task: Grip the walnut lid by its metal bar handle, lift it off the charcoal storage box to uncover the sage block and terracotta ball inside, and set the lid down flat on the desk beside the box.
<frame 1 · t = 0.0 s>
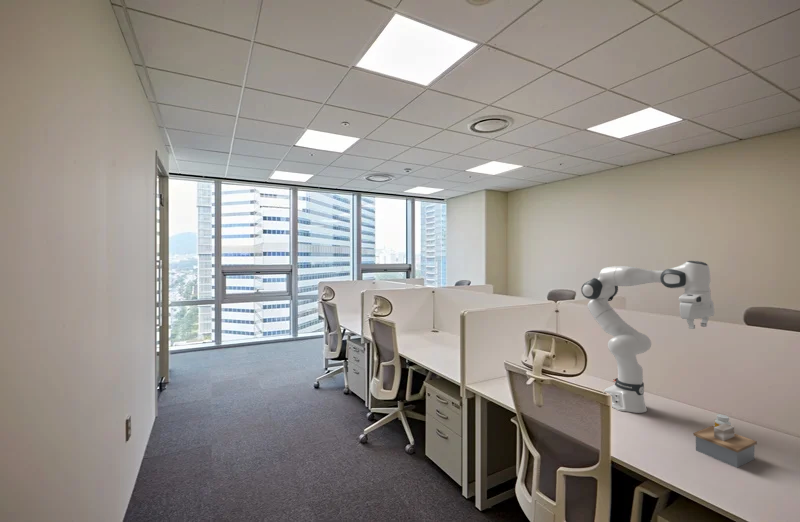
hand: (697, 327, 155), 48 cm above the table, tool pointing down, fingers open, 8 cm apart
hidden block: (729, 459, 134), point 1 cm above the table, touching storage box
lid: (724, 439, 138), point 7 cm above the table, touching storage box
storage box: (724, 457, 138), on the table
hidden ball: (720, 449, 141), point 1 cm above the table, touching storage box
supplement bottle: (723, 438, 152), on the table
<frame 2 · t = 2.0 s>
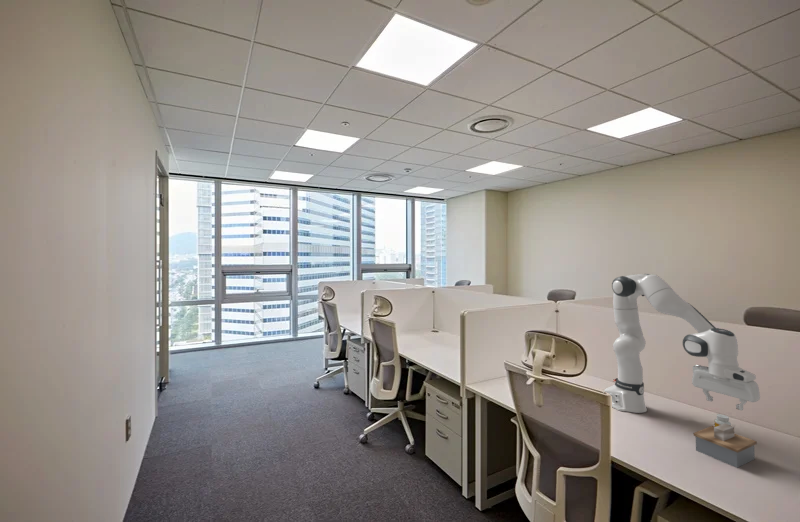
hand: (724, 405, 137), 21 cm above the table, tool pointing down, fingers open, 8 cm apart
nothing on the table moved.
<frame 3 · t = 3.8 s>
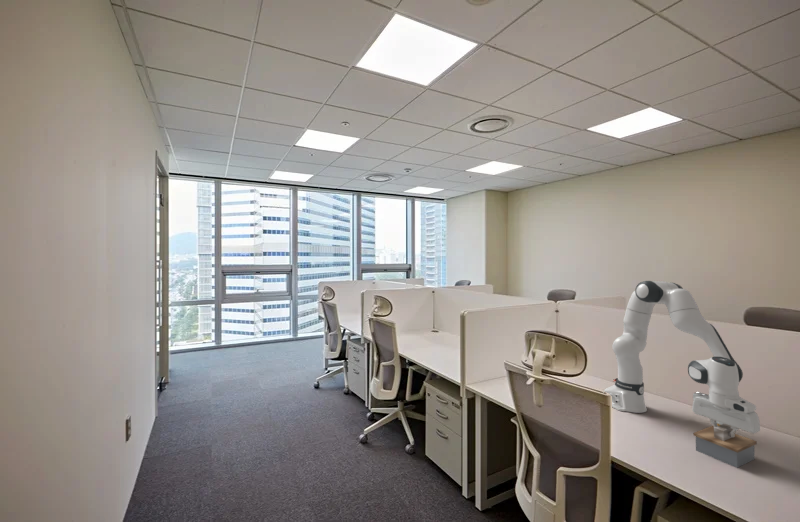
hand: (724, 433, 138), 9 cm above the table, tool pointing down, fingers closed on lid, 3 cm apart
lid: (724, 439, 138), point 7 cm above the table, touching gripper, storage box
everything else where it was.
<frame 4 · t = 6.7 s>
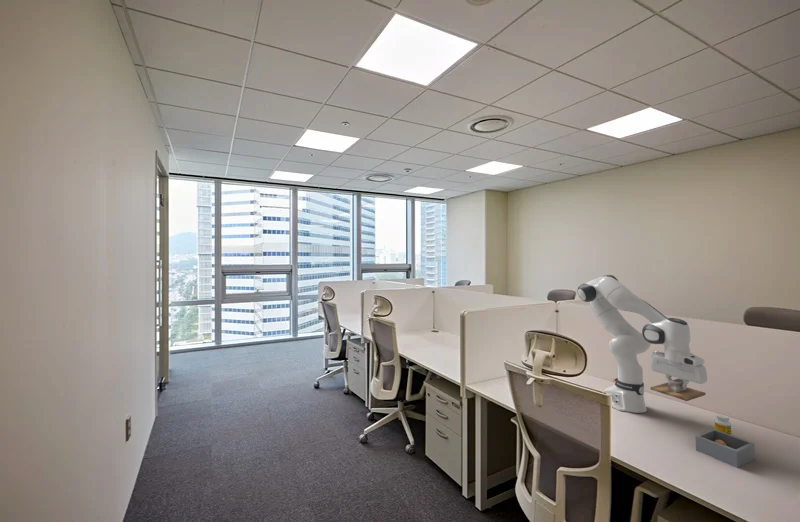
hand: (677, 387, 152), 23 cm above the table, tool pointing down, fingers closed on lid, 3 cm apart
lid: (677, 392, 152), point 20 cm above the table, touching gripper
everything else where it was.
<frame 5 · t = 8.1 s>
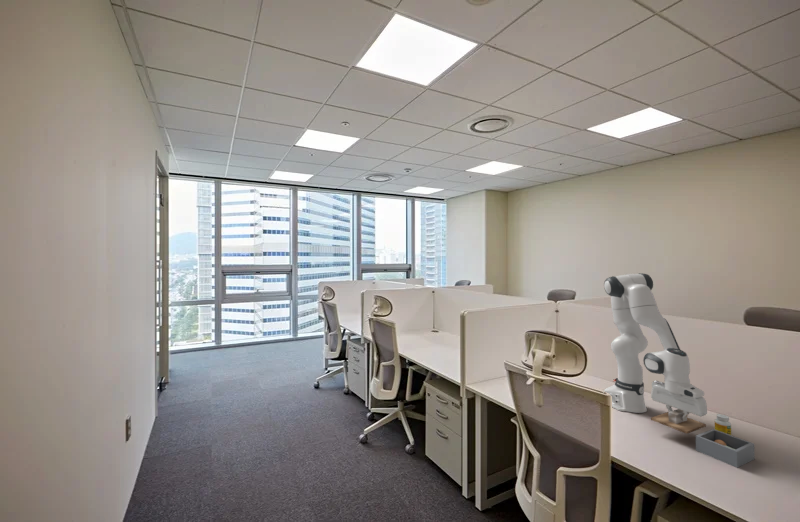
hand: (677, 417, 152), 9 cm above the table, tool pointing down, fingers closed on lid, 3 cm apart
lid: (677, 423, 152), point 7 cm above the table, touching gripper
everything else where it was.
when the fingers open (4 cm above the table, at t = 9.2 s): lid drops 2 cm, on the table.
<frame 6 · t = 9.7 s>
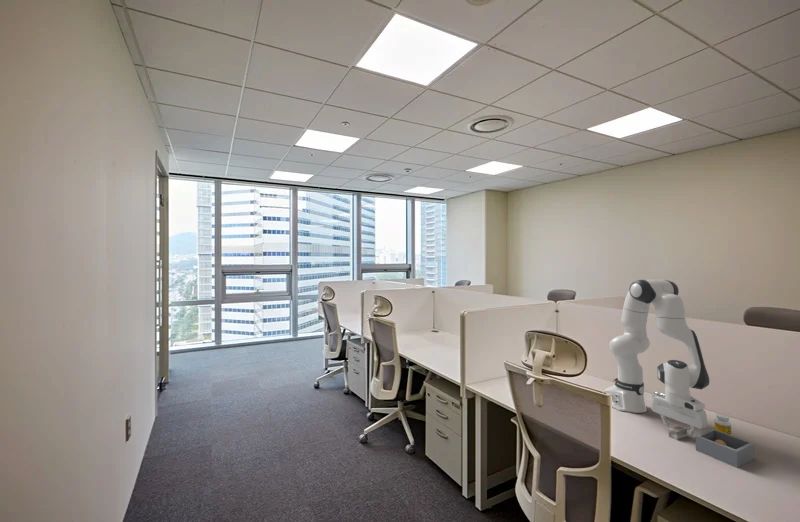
hand: (677, 429, 152), 4 cm above the table, tool pointing down, fingers open, 8 cm apart
lid: (678, 439, 152), on the table
everything else where it was.
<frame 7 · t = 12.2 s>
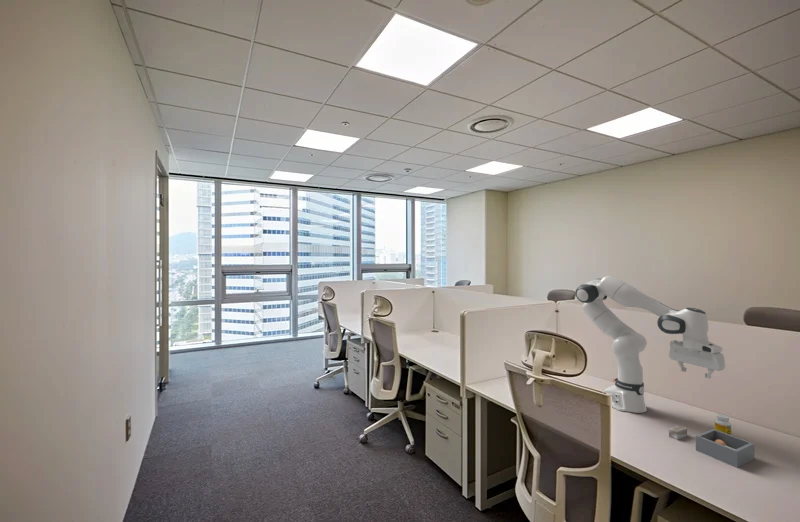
hand: (695, 374, 157), 26 cm above the table, tool pointing down, fingers open, 8 cm apart
nothing on the table moved.
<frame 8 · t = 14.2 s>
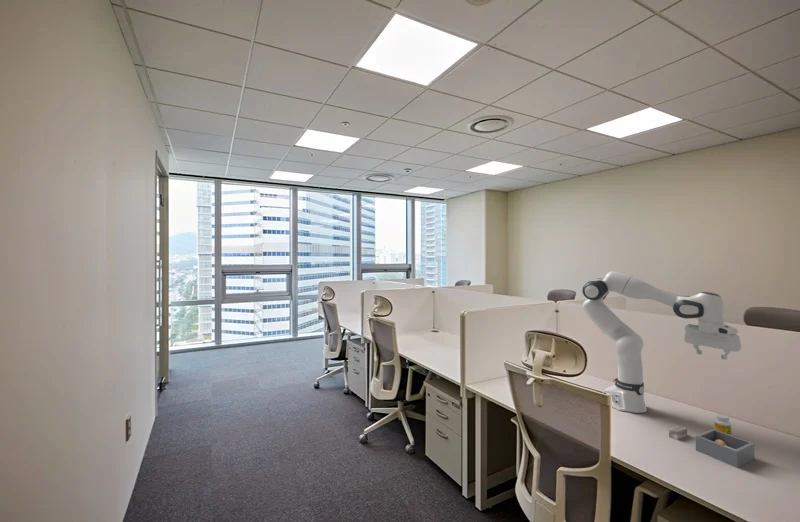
hand: (711, 356, 161), 33 cm above the table, tool pointing down, fingers open, 8 cm apart
nothing on the table moved.
at the end: lid inside the target area (0.1 cm from its centre), on the table; lid tilted 0°; the gripper is holding nothing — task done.
